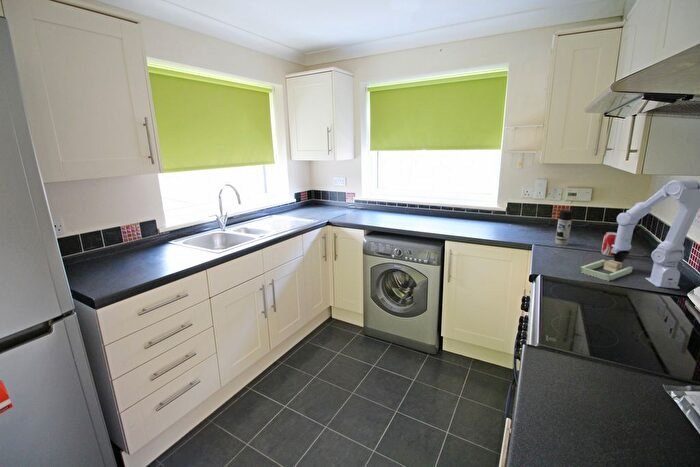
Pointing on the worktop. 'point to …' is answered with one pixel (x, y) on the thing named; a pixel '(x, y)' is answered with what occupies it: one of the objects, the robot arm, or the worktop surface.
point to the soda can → (608, 243)
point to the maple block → (612, 265)
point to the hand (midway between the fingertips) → (618, 265)
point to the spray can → (563, 227)
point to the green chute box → (588, 270)
